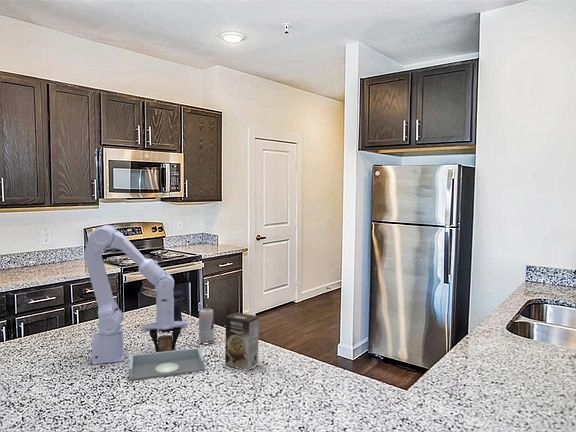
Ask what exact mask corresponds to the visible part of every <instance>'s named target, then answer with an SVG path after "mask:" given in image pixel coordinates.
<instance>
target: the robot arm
mask: <svg viewBox="0 0 576 432" xmlns="http://www.w3.org/2000/svg"><path fill="white" fill-rule="evenodd" d="M109 246H110V247H109ZM108 247H109V248H110V249H115V250H120V251H122V252H123V254H125V255H126V256H127V257H128V258H130V260H131V261H133V262H134V263H135V264H136V265H137V266H138V272H139V273H140V274H141V275H142V276H143V277H144V278H145V279H146V280H147V281H148V282H149V283H150V284H152V285H153V286H154V288H155V291H156V298H155V302H156V303H155V304H156V306H155V307H156V308H155V309H156V312H155V314H156V315H155V318H156V319H155V320H156V321H155V322H152V323H151V322H150V323H147V324H142V328H141V329H142V333H146V332H149V336H150V338H151V340H152V342H153V344H154V349H155V352H158V330H164V329H173V332H172V351H174V350H176V349H175V348H176V344H177V341H178V338H179V336H180V335H181V332H182V329H188V321H187V320H182V321H174V296H173V295H174V292H173V290H174V289H175V288H174V287H175V280H174V277H173V276H172V274H169V272H168V271H167V270H164V269H163V268H162V267H161V266H160V265H158V263H159V261H158V260H156V259H155V260H154V259H152V258H146V257H145V256H144V255H143V254H142V253H141V252H140V251H139V250H138V249H137V247H136V246H135V245H134V244H133V243H132V242H131V241H130V239H128V238H127V237H126V236H125V235H124V234H123V233H122V232H121V231H119V230H117V228H116V227H114V226H113V225H110V224H104V225H102V226H99V227H96V228H95V229H94V230H93V231H92V232H91V233H90V235H88V238H87V242H86V245H85V249H84V251H83V259H84V262H85V265H86V268H87V271H88V275H89V279H90V283H91V285H92V289H93V292H94V295H95V299H96V302H97V306H98V307H97V308H98V310H97V316H98V323H97V326H98V332H95V333H93V334H92V337H91V338H92V339H91V340H92V341H91V365H98V364H107V363H108V364H109V363H115V362H117V363H119V362H124V361H125V354H126V351H125V350H124V328H123V327H122V325H121V324H122V323H123V321H124V313H123V311H122V310H121V309H120V308H119V306H118V303H117V302H116V300H115V298H114V295H113V292H112V287H111V284H110V281H109V276H108V274H107V271H106V266H105V264H104V259H103V256H102V255H103V254H104V253H105V251H106V250H107V249H108ZM181 328H182V329H181Z"/></svg>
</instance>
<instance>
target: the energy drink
mask: <svg viewBox="0 0 576 432" xmlns="http://www.w3.org/2000/svg"><path fill="white" fill-rule="evenodd" d="M214 313H215V312H214V309H212V308H202V309H199V313H198V343H199V342H200V343H211V342H213V343H214V342H215V341H214V339H215V338H214V337H215V335H214V331H215V330H214V325H215V324H214V323H215V321H214V319H215V314H214ZM200 343H199V344H200Z"/></svg>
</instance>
